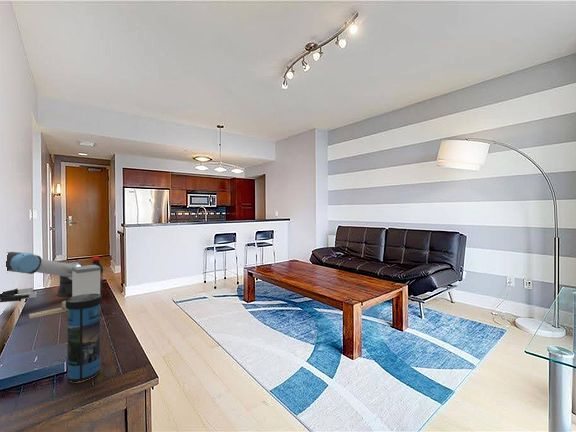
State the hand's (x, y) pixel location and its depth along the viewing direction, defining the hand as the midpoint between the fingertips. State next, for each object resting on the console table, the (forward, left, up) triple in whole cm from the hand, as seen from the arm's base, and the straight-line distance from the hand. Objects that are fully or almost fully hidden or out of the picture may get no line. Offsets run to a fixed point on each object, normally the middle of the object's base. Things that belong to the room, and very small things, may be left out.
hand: (34, 292), depth 168 cm
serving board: (0, +11, -15) cm, 18 cm away
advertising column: (+93, +4, -15) cm, 94 cm away
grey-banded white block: (+13, +23, -14) cm, 30 cm away
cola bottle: (-14, +35, -15) cm, 40 cm away
